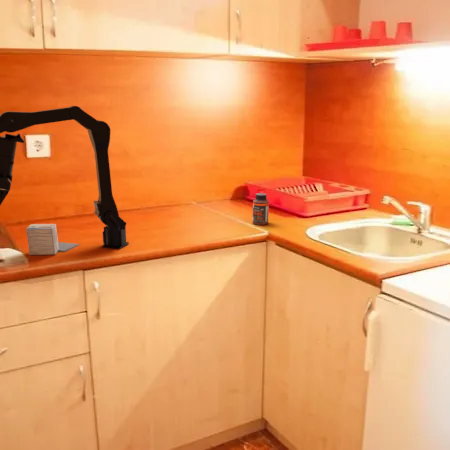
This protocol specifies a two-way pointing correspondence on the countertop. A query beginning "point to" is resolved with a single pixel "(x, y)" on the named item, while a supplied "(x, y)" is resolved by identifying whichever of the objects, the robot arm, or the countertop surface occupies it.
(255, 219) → the supplement bottle
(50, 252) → the medicine box
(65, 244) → the mat
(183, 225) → the countertop surface
